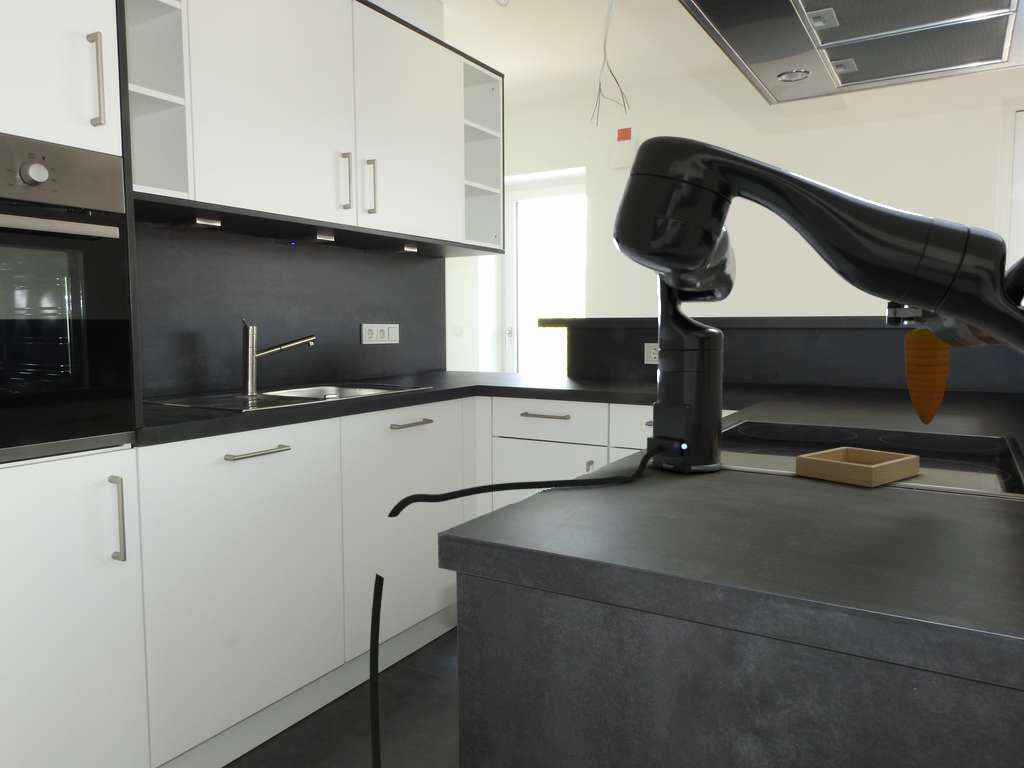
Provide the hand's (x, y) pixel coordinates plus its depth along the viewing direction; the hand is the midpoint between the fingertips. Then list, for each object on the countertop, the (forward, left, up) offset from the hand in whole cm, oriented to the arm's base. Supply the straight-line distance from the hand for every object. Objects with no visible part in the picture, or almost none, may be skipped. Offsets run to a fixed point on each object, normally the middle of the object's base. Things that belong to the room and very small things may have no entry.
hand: (922, 315), depth 87 cm
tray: (+6, +10, -22) cm, 25 cm away
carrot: (-2, -2, -13) cm, 13 cm away
